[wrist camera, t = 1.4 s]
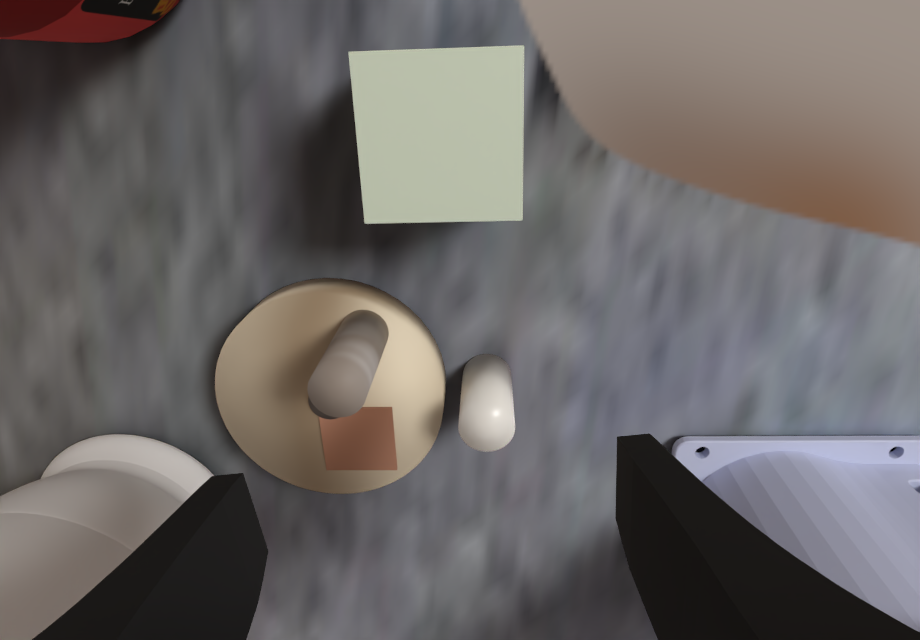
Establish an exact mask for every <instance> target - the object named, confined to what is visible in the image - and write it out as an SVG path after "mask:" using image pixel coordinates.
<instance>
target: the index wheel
mask: <svg viewBox="0 0 920 640" xmlns="http://www.w3.org/2000/svg"><path fill="white" fill-rule="evenodd" d="M215 392H216V399H217V404H218V407H219V411H220V414H221V417H222V419H223V421H224V423H225V426H226V428H227V429H228V431H229V433H230V434H231V436H232V438H233V439H234V440H235V442H236V443H237V444H238V445H239V447H240V448H241V449H242V450H243V451H244V452H245V453H246V454H247V455H248V456H249V457H250V458H251V459H252V460H253V461H254V462H255V463H257V464H258V465H259V466H260V467H262V468H263V469H264V470H266V471H268V472H269V473H271V474H272V475H274V476H276V477H278V478H280V479H282V480H284V481H285V482H288V483H290V484H293V485H296V486H298V487H301V488H305V489H308V490H312V491H317V492H324V493H335V494H348V493H359V492H365V491H370V490H373V489H377V488H380V487H383V486H385V485H388V484H390V483H393V482H394V481H396V480H398V479H400V478H401V477H403V476H405V475H406V474H407V473H409V472H410V471H411V470H413V469H414V468H415V467H416V466H417V465H418V464H419V463H420V462H421V461H422V460H423V459H424V457H425V456H426V455H427V453H428V452H429V451H430V449H431V447H432V446H433V444H434V442H435V440H436V438H437V435H438V432H439V429H440V426H441V421H442V416H443V409H444V402H445V394H446V374H445V366H444V363H443V359H442V355H441V352H440V350H439V348H438V345H437V343H436V341H435V339H434V338H433V336H432V334H431V333H430V331H429V329H428V328H427V327H426V326H425V324H424V323H423V322H422V320H421V319H420V318H419V317H418V316H417V315H416V314H415V313H414V312H413V311H412V310H411V309H410V308H408V307H407V306H406V305H405V304H403V303H402V302H401V301H399V300H398V299H396V298H395V297H393V296H391V295H390V294H388V293H386V292H384V291H382V290H380V289H377V288H375V287H373V286H370V285H367V284H364V283H360V282H357V281H352V280H346V279H337V278H320V279H310V280H305V281H301V282H296V283H294V284H291V285H288V286H285V287H283V288H281V289H279V290H277V291H275V292H273V293H272V294H270V295H269V296H267V297H266V298H265V299H263V300H262V301H261V302H260V303H259V304H258V305H257V306H256V307H255V308H254V309H253V310H252V311H251V312H250V313H249V314H248V315H247V316H246V317H245V318H244V319H243V320H242V321H241V322H240V323H239V324H238V325H237V326H236V327H235V328H234V330H233V331H232V333H231V334H230V335H229V337H228V338H227V340H226V342H225V344H224V346H223V348H222V349H221V352H220V355H219V358H218V361H217V366H216V373H215Z"/></svg>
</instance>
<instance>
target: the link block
mask: <svg viewBox="0 0 920 640" xmlns="http://www.w3.org/2000/svg"><path fill="white" fill-rule="evenodd" d="M349 63H350V74H351V84H352V95H353V106H354V116H355V127H356V137H357V148H358V159H359V169H360V180H361V191H362V201H363V212H364V223H365V224H377V223H424V222H472V221H519V220H523V119H524V46H496V47H468V48H440V49H411V50H383V51H355V52H349Z"/></svg>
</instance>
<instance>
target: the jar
mask: <svg viewBox="0 0 920 640" xmlns="http://www.w3.org/2000/svg"><path fill="white" fill-rule="evenodd" d="M211 476H214V475H213V474H212V473H211V472H210V471H209V470H208V469H207V468H206V467H205V466H204V465H202V464H201V463H200V462H199V461H197V460H196V459H195V458H193V457H192V456H190V455H188V454H187V453H185V452H183V451H181V450H180V449H178V448H176V447H174V446H171V445H169V444H166V443H164V442H161V441H158V440H155V439H151V438H147V437H142V436H137V435H127V434H110V435H102V436H96V437H92V438H88V439H85V440H82V441H80V442H77V443H75V444H73V445H72V446H70V447H68V448H67V449H65V450H64V451H62V452H61V453H60V454H59V455H57V456H56V457H55V458H54V459H53V460H52V462H51V463H50V464H49V465H48V467H47V468H46V470H45V471H44V473H43V475H42V477H41V479H39V480H36V481H34V482H31V483H28V484H26V485H23V486H21V487H19V488H16V489H14V490H12V491H10V492H8V493H6V494H4V495H2V496H0V640H32V639H33V638H34V637H36V636H37V635H38V634H40V633H41V632H42V631H43V630H45V629H46V628H47V627H48V626H50V625H51V624H52V623H53V622H55V621H56V620H57V619H58V618H59V617H61V616H62V615H63V614H64V613H65V612H67V611H68V610H69V609H70V608H71V607H73V606H74V605H75V604H76V603H77V602H78V601H80V600H81V599H82V598H83V597H84V596H85V595H86V594H87V593H88V592H90V591H91V590H92V589H93V588H94V587H95V586H96V585H97V584H98V583H100V582H101V581H102V580H103V579H104V578H105V577H106V576H107V575H109V574H110V573H111V572H112V571H113V570H114V569H115V568H116V567H117V566H119V565H120V564H121V563H122V562H123V561H124V560H125V559H126V558H127V557H128V556H129V555H131V554H132V553H133V552H134V551H135V550H136V549H137V548H138V547H139V546H140V545H141V544H142V543H143V542H144V541H145V540H146V539H147V538H148V537H149V536H150V535H151V534H152V533H153V532H154V531H155V530H156V529H157V528H158V527H160V526H161V525H162V524H163V523H164V522H165V521H166V520H167V519H168V518H169V517H170V516H171V515H172V514H173V513H174V512H175V511H176V510H177V509H178V508H179V507H180V506H181V505H182V504H183V503H184V502H185V501H186V500H187V499H188V498H189V497H190V496H191V495H192V494H193V493H194V492H195V491H196V490H197V489H198V488H199V487H200V486H202V485H203V484H204V483H205V482H206V481H207V480H208V479H209V478H210V477H211Z"/></svg>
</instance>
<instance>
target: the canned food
mask: <svg viewBox="0 0 920 640" xmlns="http://www.w3.org/2000/svg"><path fill="white" fill-rule="evenodd" d="M179 1H180V0H0V39H15V40H35V41H56V42H76V43H94V42H109V41H113V40H117V39H122V38H126V37H130V36H132V35H134V34H136V33H138V32H140V31H141V30H143V29H145V28H147V27H149V26H151V25H153V24H154V23H156V22H157V21H159V20H160V19H161V18H162V17H163V16H165V15H166V14H167V13H168V12H169V11H170V10H171V9H173V8H174V7H175V6H176V5H177V4H178V2H179Z"/></svg>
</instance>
